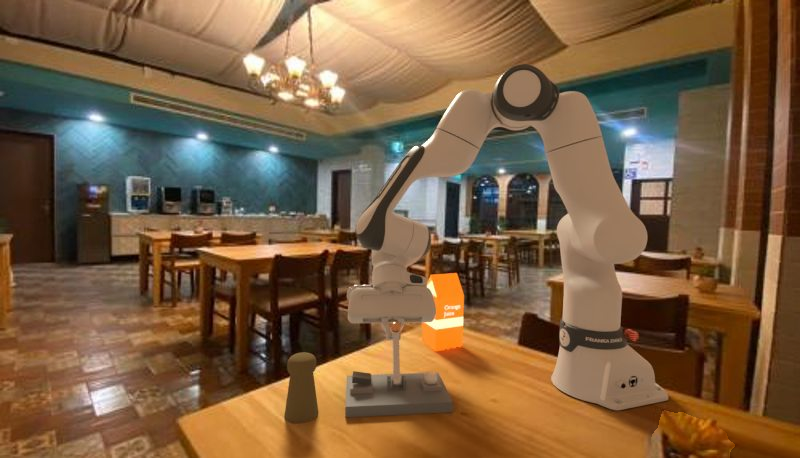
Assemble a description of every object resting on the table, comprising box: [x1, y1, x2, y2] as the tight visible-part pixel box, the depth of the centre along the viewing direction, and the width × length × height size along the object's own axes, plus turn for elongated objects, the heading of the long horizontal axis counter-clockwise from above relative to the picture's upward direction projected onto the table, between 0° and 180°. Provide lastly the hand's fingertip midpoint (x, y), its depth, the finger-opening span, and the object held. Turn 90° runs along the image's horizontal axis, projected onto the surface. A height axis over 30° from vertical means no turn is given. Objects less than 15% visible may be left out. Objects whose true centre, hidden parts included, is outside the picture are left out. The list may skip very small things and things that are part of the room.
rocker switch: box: [351, 370, 372, 385], centre depth 72 cm, size 4×2×1 cm, turn 97°
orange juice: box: [421, 272, 465, 352], centre depth 101 cm, size 8×9×20 cm
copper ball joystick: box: [389, 322, 402, 387], centre depth 74 cm, size 2×2×13 cm
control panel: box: [344, 372, 454, 418], centre depth 73 cm, size 20×12×4 cm, turn 97°
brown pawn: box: [284, 351, 319, 424], centre depth 66 cm, size 6×6×11 cm
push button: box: [424, 371, 437, 384], centre depth 73 cm, size 3×3×1 cm
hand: (393, 339), depth 78 cm, fingers closed
